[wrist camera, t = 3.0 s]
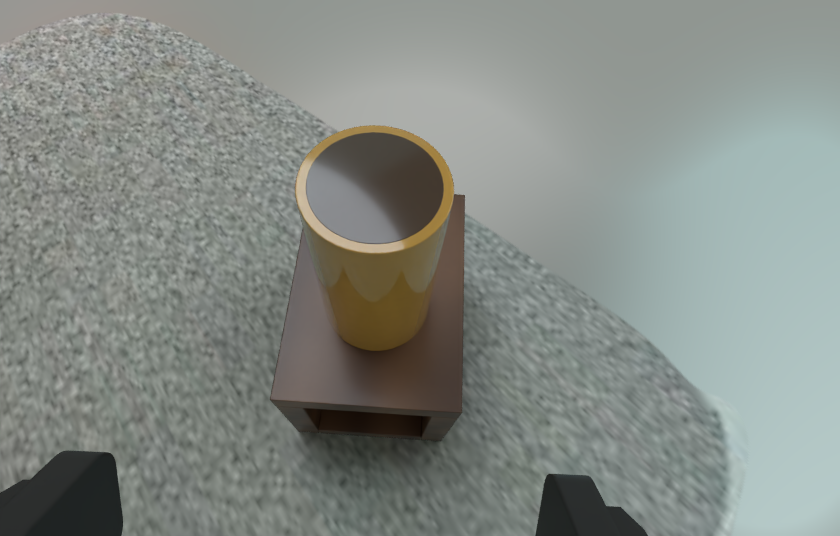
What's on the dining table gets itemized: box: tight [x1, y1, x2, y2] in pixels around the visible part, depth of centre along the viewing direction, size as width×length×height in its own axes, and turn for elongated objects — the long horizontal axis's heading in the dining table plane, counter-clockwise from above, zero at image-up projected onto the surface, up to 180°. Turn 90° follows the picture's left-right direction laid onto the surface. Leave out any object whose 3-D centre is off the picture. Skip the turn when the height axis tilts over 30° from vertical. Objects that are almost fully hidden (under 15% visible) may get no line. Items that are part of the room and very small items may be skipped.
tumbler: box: [295, 125, 454, 351], centre depth 24 cm, size 6×6×11 cm
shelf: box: [270, 194, 465, 441], centre depth 33 cm, size 10×14×10 cm
